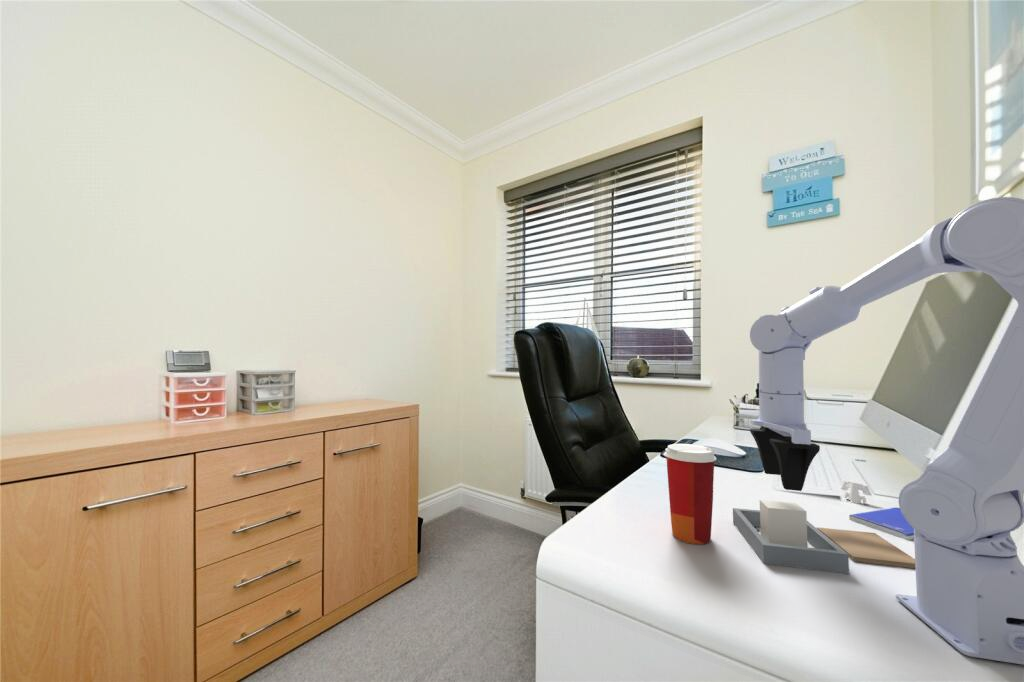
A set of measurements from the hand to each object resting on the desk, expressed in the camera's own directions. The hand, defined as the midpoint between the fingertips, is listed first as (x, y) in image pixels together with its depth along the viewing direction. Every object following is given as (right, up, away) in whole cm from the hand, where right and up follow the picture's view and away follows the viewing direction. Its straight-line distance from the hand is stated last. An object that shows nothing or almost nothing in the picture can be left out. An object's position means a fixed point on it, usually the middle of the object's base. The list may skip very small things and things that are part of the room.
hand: (781, 481), depth 60 cm
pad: (+11, -10, -2) cm, 15 cm away
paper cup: (-13, -10, +2) cm, 17 cm away
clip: (+27, -11, +18) cm, 35 cm away
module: (0, -10, -1) cm, 10 cm away
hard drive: (+26, -11, +7) cm, 29 cm away
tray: (0, -10, -1) cm, 10 cm away
